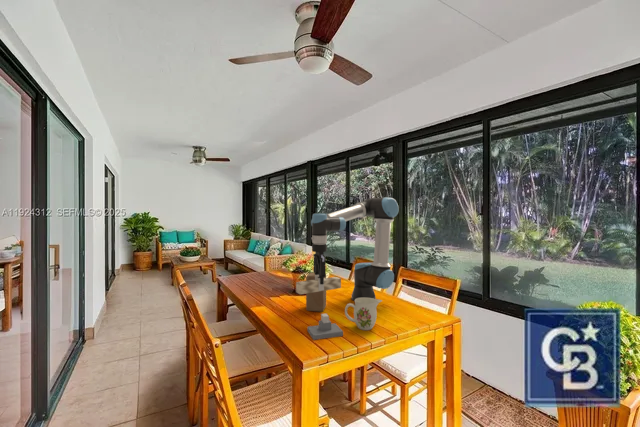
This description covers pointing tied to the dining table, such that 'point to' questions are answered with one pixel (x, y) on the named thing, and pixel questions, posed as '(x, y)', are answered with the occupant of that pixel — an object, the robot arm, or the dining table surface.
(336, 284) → the batten
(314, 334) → the fulcrum
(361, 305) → the floral ceramic pitcher
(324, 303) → the wooden block
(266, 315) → the dining table surface
